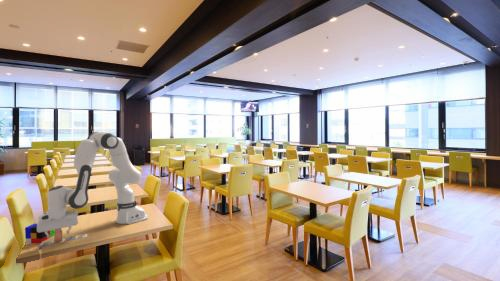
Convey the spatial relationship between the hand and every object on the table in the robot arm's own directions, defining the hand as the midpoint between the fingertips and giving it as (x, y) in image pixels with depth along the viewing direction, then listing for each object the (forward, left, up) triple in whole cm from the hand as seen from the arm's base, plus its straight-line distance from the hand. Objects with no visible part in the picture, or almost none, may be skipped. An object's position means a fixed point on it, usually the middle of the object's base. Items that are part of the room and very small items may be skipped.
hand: (58, 235), depth 160 cm
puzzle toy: (+9, -12, -5) cm, 15 cm away
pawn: (0, 0, -3) cm, 3 cm away
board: (-3, 0, -5) cm, 5 cm away
